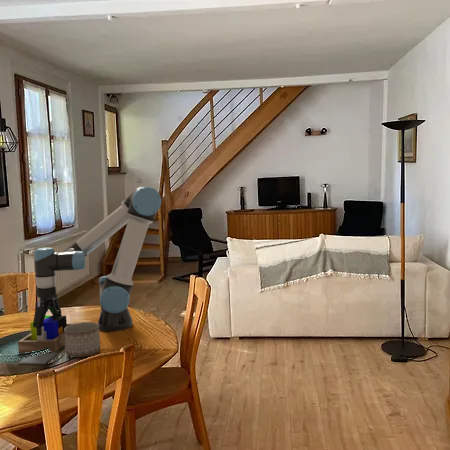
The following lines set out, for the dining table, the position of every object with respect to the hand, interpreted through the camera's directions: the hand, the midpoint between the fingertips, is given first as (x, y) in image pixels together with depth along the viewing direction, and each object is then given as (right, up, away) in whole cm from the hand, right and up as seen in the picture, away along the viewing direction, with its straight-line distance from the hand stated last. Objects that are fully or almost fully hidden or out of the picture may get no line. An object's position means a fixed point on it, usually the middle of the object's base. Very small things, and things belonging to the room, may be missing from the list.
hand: (48, 337), depth 204 cm
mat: (+2, -4, -18) cm, 18 cm away
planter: (+18, -3, -14) cm, 23 cm away
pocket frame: (0, -2, 0) cm, 2 cm away
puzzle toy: (+1, -3, 0) cm, 3 cm away
